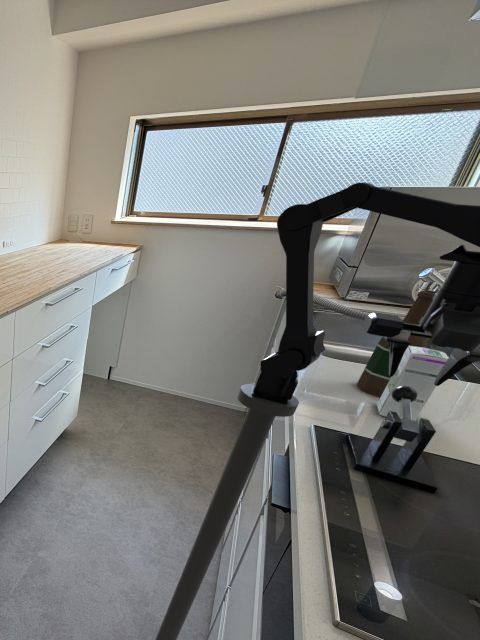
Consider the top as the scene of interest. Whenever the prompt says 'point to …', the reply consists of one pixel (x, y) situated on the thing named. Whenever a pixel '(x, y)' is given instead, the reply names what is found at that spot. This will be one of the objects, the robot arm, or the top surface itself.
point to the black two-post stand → (394, 454)
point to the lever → (406, 413)
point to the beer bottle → (378, 365)
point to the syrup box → (413, 379)
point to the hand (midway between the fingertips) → (412, 380)
